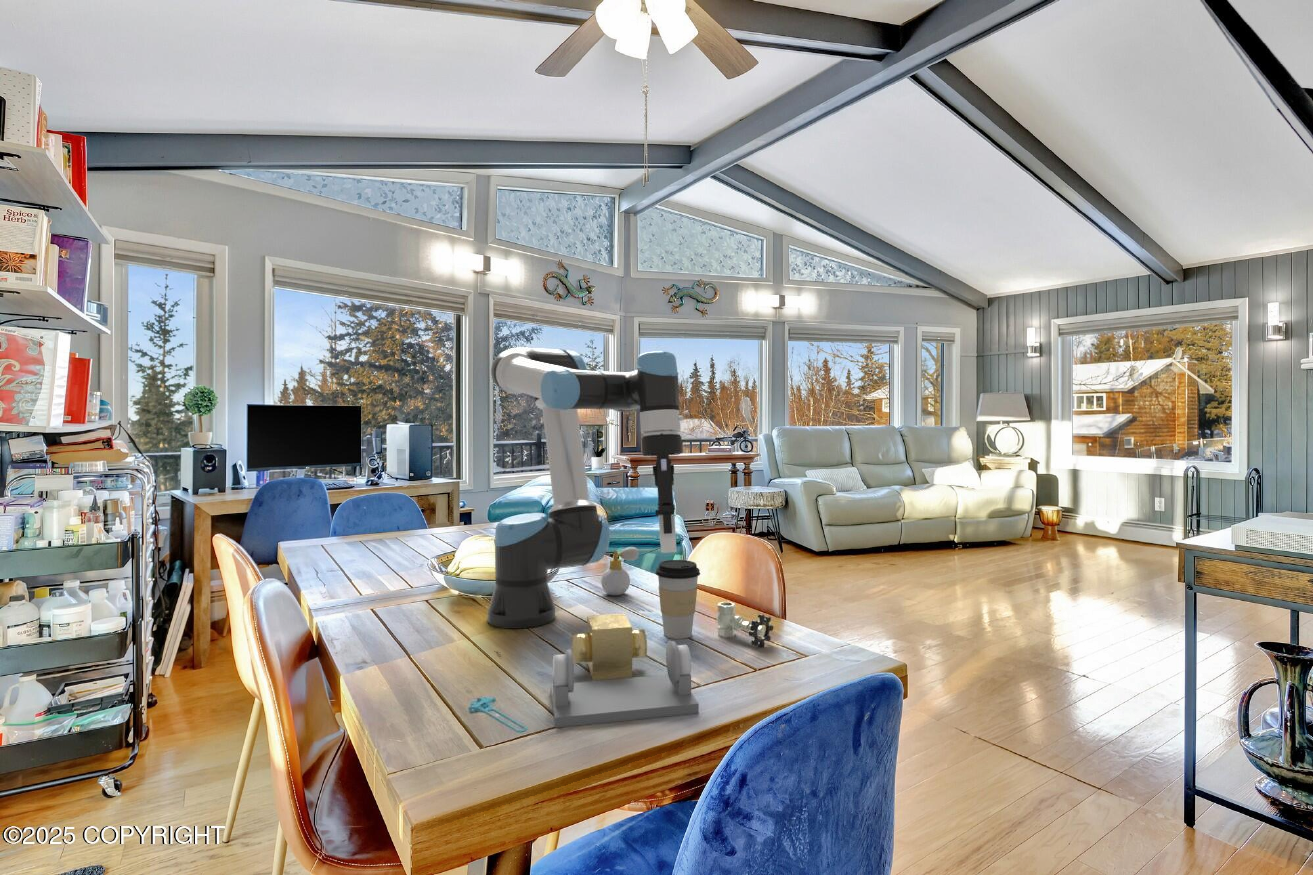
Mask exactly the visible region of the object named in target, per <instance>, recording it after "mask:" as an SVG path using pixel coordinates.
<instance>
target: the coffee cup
mask: <svg viewBox="0 0 1313 875" xmlns="http://www.w3.org/2000/svg"><path fill="white" fill-rule="evenodd" d="M697 566H698V565H697V563H696V562H695V561H691V560H687V559H686V560H685V559H669V560H663V561H661V562H659V563H658V567H657V568H655V573H654V574H655V575H656V576H657V577H658V596H659V604H660V613H661V618H662V630H663V635H664V636H665V637H666V638H669V639H672V640H682V639H683V640H684V639H688V638H691V637H692V635H693V628H694V618H695V613H696V605H697V604H696V603H697V596H698V578H699V577H700V575H701V572H700V571H701V570H700V568H699V567H697Z"/></svg>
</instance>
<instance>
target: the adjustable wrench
mask: <svg viewBox="0 0 1313 875" xmlns="http://www.w3.org/2000/svg"><path fill="white" fill-rule="evenodd" d="M496 701H497V699H496V698H495V697H490V696H480V697H477V698H476V700H473V699H472V700H471V702H470V706H469V707H468V709H469V712H470V713H476V712H481V713H484V714H486V715H488V716H490V717H491V718H492V719H495V720H496V721H497V722H500V723H502V725H505V726H506V727H508V728H509V729H511V730H513V731H515V732H516V733H525V732H527V730H528V728H527V726H526V725H525V726H524V725H523V724H521V723H519V722H518V721H516V720H515V719H513V718H511V717H510V716H507V715H506V714H504V713H503V712H500V711H499V710H498V709H496V708H495V707H494V706H493V703H494V702H496ZM490 711H492V712H495V713H496V714H492V713H491V712H490ZM500 716H501V717H504V718H505V719H506V720H509V721H510V722H512V723H514V724H515V725H517V726H518V727H520V728H521V730H519V729H517V728H516V727H513V726H512V725H511V724H509V723H508V722H506V721H504V720H502V719H500V718H499V717H500Z"/></svg>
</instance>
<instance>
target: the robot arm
mask: <svg viewBox="0 0 1313 875" xmlns="http://www.w3.org/2000/svg"><path fill="white" fill-rule="evenodd" d="M636 363H637V364H636V369H635V370H632V371H627V372H626V371H603V370H602V371H601V370H588V368H587V364H586V362H585V360H584V359H583V357H582V356H581V355H580V354H579V353H578V352H576V351H573V350H566V349H563V348H559V349H558V348H557V349H554V348H538V347H537V348H536V347H534V348H533V347H521V346H520V347H514V348H513V347H512V348H509V349H507V350H504V351H502V352H501V353H499V354H498V355H497V356H496V357H495V359H494V360H493V362H492V365H491V369H490V374H491V375H490V376H491V379H492V381H493V383H494V384H495V386H497V388H498V389H499V390H501V391H502V392H505V393H508V394H512V395H520V396H522V395H523V396H531V397H534V403H535V404H534V405H535V406H536V407H537V408H539V409H540V410H542V416H543V418H542V419H543V425H544V426H543V428H544V435H545V441H546V442H545V444H546V452H547V459H548V465H549V466H548V467H549V476H550V483H551V484H550V485H551V492H552V493H551V494H552V500H553V505H552V506H551V508H550V509H549V511H548V516H547V514H546V513H543V512H531V513H527V512H526V513H522V514H516V515H512V516H509V517H506V518H503V519H502V520H500V521H499V522H498V523H497V524H496V526H495V536H494V543H493V545H494V562H495V563H494V564H495V565H494V566H495V567H494V571H495V572H494V574H495V579H494V580H495V586H494V589H493V592H492V596H491V600H490V602H489V605H488V609H487V622H488V624H489V625H492V626H494V627H496V628H497V627H498V628H503V629H528V628H534V627H539V626H543V625H545V624H548V623H551V622H552V621H553V620H555V618H556V604H555V602H554V598H553V596H552V594H551V593H552V592H551V591H550V588H549V584H548V572H549V571H548V570H554V569H561V568H568V567H569V568H571V567H577V566H586V565H590V564H595V563H598V562H600V561H602V559H603V558H604V557H605V555H606V554H607V552H608V550H609V546H610V540H611V539H610V538H611V537H610V536H611V535H610V534H611V532H610V525H609V521H608V520H607V517H606V516H605V515H604V514H601V513H598V508H597V505H596V504H595V503H594V502H593V501H591V499H590V496H589V489H588V480H587V473H586V466H585V465H586V464H585V458H584V450H583V442H582V435H581V430H580V429H581V427H580V420H579V413H578V410H612V411H615V412H619V413H620V412H632V411H634V410H635V411H636V410H638V409H639V421H640V422H639V423H640V433H641V434H642V435H644V436H642V438H641V451H642V452H641V453H642V455H643V456H644V457H656V460H655V465H652V474H653V476H654V485H655V486H656V487H657V499H658V500H657V501H658V502H657V506H658V507H657V509H655V511H654V512H655V516H658V525H659V526H658V528H659V542H660V543H659V544H660V553H661V554H666V553H668V554H669V553H677V550H678V549H677V537H676V536H677V535H676V520H675V510H676V508H675V504H674V494H673V493H674V492H673V486H674V483H675V481H674V480H675V479H674V478H675V477H674V475H675V465H674V464H672V460H671V458H670V456H676V455H681V454H682V453H683V445H682V444H683V442H682V436H681V435H680V434H679V432H681V430H682V429H681V428H682V427H681V422H682V421H684V416H683V415H680V413H681V412H680V390H679V372H678V367H677V366H678V365H677V357H676V355H675V354H674V353H673V352H671V351H670V352H669V351H663V350H662V351H661V350H659V351H658V350H657V351H656V350H655V351H648V352H643V353H641V354H639V355H638V357H637V362H636ZM680 421H681V422H680Z"/></svg>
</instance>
